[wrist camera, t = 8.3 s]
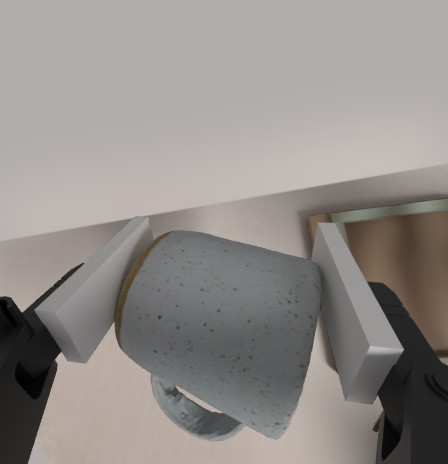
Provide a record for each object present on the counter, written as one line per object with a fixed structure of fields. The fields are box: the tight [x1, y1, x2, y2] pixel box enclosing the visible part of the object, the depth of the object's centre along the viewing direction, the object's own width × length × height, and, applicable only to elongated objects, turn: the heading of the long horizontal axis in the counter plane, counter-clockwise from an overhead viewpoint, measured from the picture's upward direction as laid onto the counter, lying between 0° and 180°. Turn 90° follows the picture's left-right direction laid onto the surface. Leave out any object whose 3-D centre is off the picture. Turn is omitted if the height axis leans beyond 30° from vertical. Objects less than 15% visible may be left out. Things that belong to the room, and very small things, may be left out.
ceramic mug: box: [115, 230, 321, 441], centre depth 11 cm, size 11×8×8 cm
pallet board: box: [307, 198, 448, 373], centre depth 26 cm, size 20×18×2 cm
